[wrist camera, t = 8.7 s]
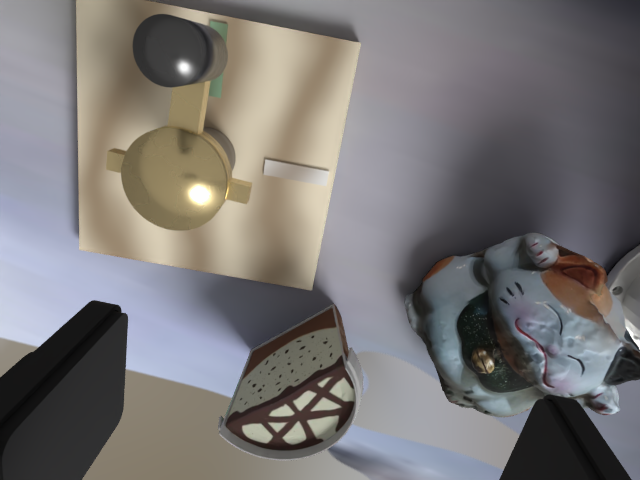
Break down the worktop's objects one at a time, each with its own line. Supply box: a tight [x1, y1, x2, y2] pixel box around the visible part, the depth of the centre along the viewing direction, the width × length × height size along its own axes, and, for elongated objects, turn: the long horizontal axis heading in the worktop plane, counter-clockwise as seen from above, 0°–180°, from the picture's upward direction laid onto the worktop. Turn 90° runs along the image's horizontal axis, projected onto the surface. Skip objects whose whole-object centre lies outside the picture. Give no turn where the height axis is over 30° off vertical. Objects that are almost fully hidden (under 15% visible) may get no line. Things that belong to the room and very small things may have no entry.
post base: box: [76, 0, 361, 291], centre depth 33 cm, size 20×20×7 cm
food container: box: [218, 304, 363, 460], centre depth 39 cm, size 12×6×10 cm, turn 123°
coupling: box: [106, 14, 252, 231], centre depth 26 cm, size 12×9×6 cm
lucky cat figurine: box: [404, 233, 640, 417], centre depth 35 cm, size 15×12×14 cm
